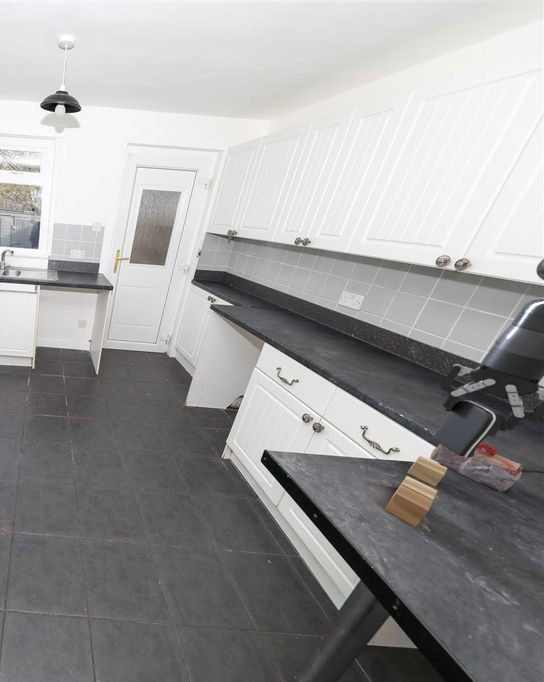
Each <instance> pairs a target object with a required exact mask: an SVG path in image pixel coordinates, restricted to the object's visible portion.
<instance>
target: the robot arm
mask: <svg viewBox="0 0 544 682" xmlns="http://www.w3.org/2000/svg"><path fill="white" fill-rule="evenodd" d="M535 270H536V271H535V272H536V275H537V276H538V277H539V279H541V280H542V281H544V258H542V259H541V260H540V261H539V263H538V264H537V266H536V268H535ZM466 374H470V376H471V378H472V381H471V382H468V383H466V384H464V385H462V386H459V387H455V386H454V385H453V383H454V382H455V380H456V378H457V377H462V376H464V375H466ZM543 378H544V297H543V296H542V297H534V298H532V299H530V300H528V301H527V302H526V303H525V304H524V305H523V307H522V308H521V309H520V310H519V312H518V313H517V314H516V316H515V317H514V319H513V320H512V322H511V323H510V324H509V326H508V327H507V328H506V329H505V330H504V331H503V332H502V333H500V335H499V337H498V338H497V339H496V340H495V342H494V344H493V346H492V347H491V348H490V350H489V351H488V352H487V354H486V355H485V356H484V358H483V359H482V361H481V362H480V364H479V365H478V366H476V367H475V368H474V367H473V368H471V367H467V366H464V365H462V364H460V363H455V364H453V365H452V367H451V369H450V370H449V372H448V373H447V375H446V377H445V379H444V380H443V382H442V384H441V385H440V389H441V390H443V391H445V392H447V393H448V394H449V395H448V397H447V399H446V400H444V403H443V404H442V407H443V408H445V410H444V411H445V412H448V413H449V412H450V411H451V409H452V408H453V406H454V405H455V404H456V403H457V402H458V401H459V399H460V398H461V396H463V395H466V394H468V393H472V392H476V391H479V392H480V393H482V394H486V395H492V396H494V397H496V398H499V399H502V400H509V404H510V407H511V409H512V412H510V413H509V415H507V417H505V422H504V424H503V426H502V427H501V428H500V430H499V431H502V432H506V431H507V430H508V431H512V430H514V429H516V427H517V425H518V424H519V423H520V422H521V421H522V419H532V420H535V421H541V420H542V419H543V418H544V388H542V387H540V385H539V384H540V382H541V380H542V379H543ZM535 393H536V394H538V400H540V402H538V404H537V405H536V406H535V408H534V409H533V410H527V409H525V407H524V404H523V400H522V397H524V396H528V395H532V394H535Z"/></svg>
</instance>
